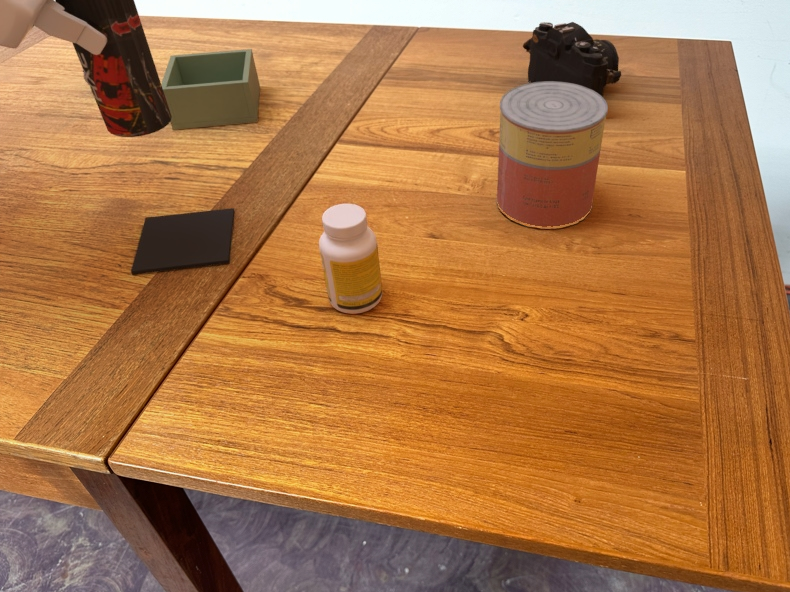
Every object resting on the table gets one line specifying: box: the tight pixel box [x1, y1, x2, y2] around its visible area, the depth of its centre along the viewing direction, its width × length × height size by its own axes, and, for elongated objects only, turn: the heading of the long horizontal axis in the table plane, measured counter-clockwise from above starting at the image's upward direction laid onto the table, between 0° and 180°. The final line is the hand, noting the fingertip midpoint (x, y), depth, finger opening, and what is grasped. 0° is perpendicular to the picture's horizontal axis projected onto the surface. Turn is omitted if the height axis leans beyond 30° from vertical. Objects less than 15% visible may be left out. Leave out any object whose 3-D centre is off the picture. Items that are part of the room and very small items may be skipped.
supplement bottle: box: [318, 203, 383, 315], centre depth 63 cm, size 5×5×10 cm
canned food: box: [496, 81, 609, 227], centre depth 74 cm, size 11×11×12 cm
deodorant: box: [54, 0, 172, 138], centre depth 58 cm, size 6×6×15 cm
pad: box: [130, 207, 236, 276], centre depth 74 cm, size 10×10×1 cm
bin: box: [161, 48, 261, 131], centre depth 95 cm, size 12×12×6 cm
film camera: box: [522, 21, 622, 98], centre depth 95 cm, size 18×12×10 cm
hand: (113, 29), depth 58 cm, fingers closed on deodorant, 6 cm apart
